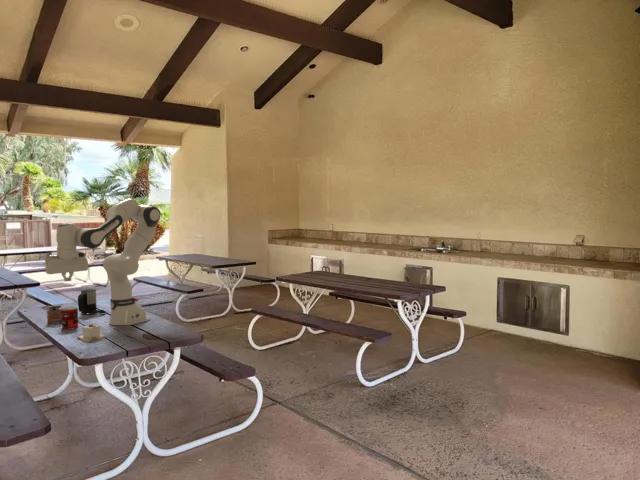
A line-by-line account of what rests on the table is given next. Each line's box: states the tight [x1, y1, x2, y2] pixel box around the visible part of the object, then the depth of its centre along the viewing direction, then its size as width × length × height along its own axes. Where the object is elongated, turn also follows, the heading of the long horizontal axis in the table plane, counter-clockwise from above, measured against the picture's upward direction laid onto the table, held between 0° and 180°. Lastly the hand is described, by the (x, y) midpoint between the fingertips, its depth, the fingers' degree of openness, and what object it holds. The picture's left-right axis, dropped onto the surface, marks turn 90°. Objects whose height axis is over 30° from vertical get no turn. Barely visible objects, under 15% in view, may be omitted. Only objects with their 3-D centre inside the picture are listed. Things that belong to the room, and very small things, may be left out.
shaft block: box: [76, 323, 107, 343], centre depth 241 cm, size 10×10×7 cm
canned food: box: [60, 306, 79, 330], centre depth 262 cm, size 8×8×11 cm
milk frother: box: [77, 288, 106, 315], centre depth 297 cm, size 14×16×15 cm
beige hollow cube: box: [82, 324, 101, 338], centre depth 241 cm, size 6×6×6 cm
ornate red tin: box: [46, 304, 62, 325], centre depth 273 cm, size 8×3×10 cm, turn 126°
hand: (67, 281), depth 245 cm, fingers closed
